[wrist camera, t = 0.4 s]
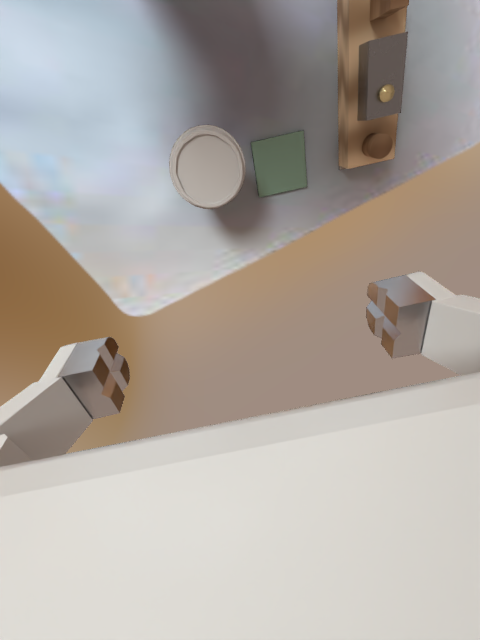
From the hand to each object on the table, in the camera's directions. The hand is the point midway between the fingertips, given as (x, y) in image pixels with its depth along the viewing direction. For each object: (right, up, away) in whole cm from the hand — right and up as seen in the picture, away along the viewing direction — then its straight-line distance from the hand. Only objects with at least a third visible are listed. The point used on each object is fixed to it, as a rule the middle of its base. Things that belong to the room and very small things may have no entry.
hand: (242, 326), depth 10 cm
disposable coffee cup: (-5, +25, +38) cm, 46 cm away
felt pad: (+6, +25, +39) cm, 46 cm away
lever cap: (+18, +32, +31) cm, 48 cm away
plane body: (+17, +34, +34) cm, 51 cm away
